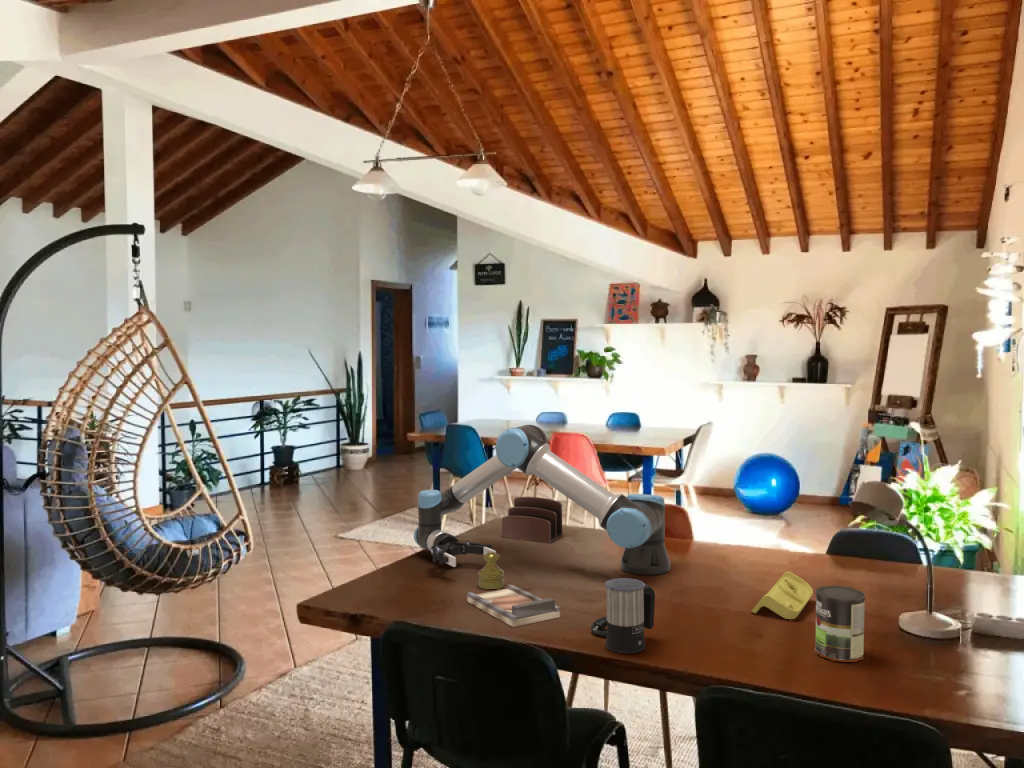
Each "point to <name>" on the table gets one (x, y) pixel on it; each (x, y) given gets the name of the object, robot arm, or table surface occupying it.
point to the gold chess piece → (491, 573)
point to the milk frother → (626, 615)
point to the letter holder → (534, 520)
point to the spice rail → (510, 593)
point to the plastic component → (786, 596)
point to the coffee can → (840, 622)
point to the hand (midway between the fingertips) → (475, 559)
